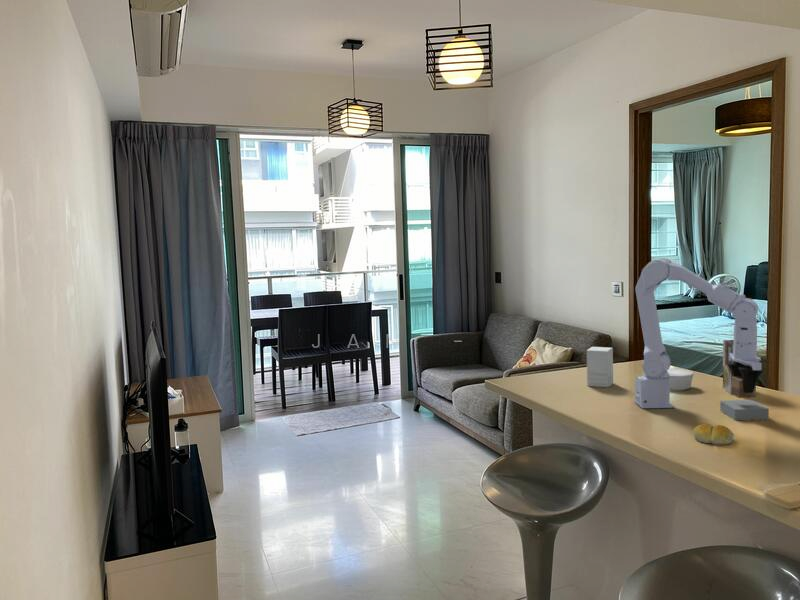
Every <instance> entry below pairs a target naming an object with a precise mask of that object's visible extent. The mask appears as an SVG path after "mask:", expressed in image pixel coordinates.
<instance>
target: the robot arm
mask: <svg viewBox="0 0 800 600" xmlns="http://www.w3.org/2000/svg"><path fill="white" fill-rule="evenodd" d="M666 280H667V281H680V282H682V283H685V284H686V285H688V286H690V287H692V288H694V289H696V290H697V291H700V292H702V293H703V294H705V295H706V297H707V301H708V302H710V303H712V304H714V306H716V307H719V308H721V309H722V310H723V311H726V312H727V313H731V314H732V316H733V318H734V325H733V340H734V347H733V353H729V360H733V361H734V362H733V363H728V366H729V368H730V370H731V372H732V375H733V377H738V376H742V380H743V389H744V392H745V393H753V391H754V388H755V385H756V386H757V381H758V380H759V377H760V375H761V374H763V372H764V371H763V367H762V365H763V364H762V362H760V361H762V359H761V357H758V355H757V353H758V352H757V350H758V349H757V348H758V326H757V323H758V321H757V315H758V313H759V306H758V303H756V301H754V300H753V299H752V298H748V297H746V295H745V294H743V293H742V294H740V293H738V292H736V291H734V290H733V289H731V288H730V285H728V284H727V283H725V284H724V285H723V284H721V283H717V284H713V283H711V282H709V281H707V280H706V279H704V278H703V277H701V276H700V275H698V274H696V273H695V272H693V271H692V270H689V269H688V268H687V267H684V266H682V265H681V264H680V263H677V262H674V261H671V260H670V259H668V258H665V257H664V258H658V259H654V260H651V261H649V262H648V263H647V264H646V265H645V266H644V267H643V268H642V270H641V273H640V276H639V278H638V280H637V283H636V285H635V289H634V290H635V296H636V302H637V308H638V312H639V319H640V324H641V331H642V337H643V343H644V350H643V363H642V371H643V375H642V376H637V377H636V378H635V381H634V382H635V383H634V403H635V404H637V405H638V406H639V407H640V408H641V409H675V407H676V406H675V405H674V404H672V403H671V402H670V395H671V394H670V391H671V390H670V375H669V373H668V371H667V370H668V369H671V365H672V360H671V358H670V355H668V353H667V350H666V349H667V348H666V347H665V344H663V338H662V331H661V327H660V326H661V325H660V321H659V315H658V309H657V303H656V295H655V291H656V290H657V288H658V287H659V286H660V285H661V284H662V283H663V282H665V281H666Z"/></svg>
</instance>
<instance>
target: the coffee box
mask: <svg viewBox="0 0 800 600" xmlns="http://www.w3.org/2000/svg"><path fill="white" fill-rule="evenodd" d="M722 343H723V344H722V389H724V390H725V391H726V392H728V393H729V394H730V395H733V394H732V377H733V375H732V372H731V370H730V368H729V366H728V363H733V362H734V361H733V360H729V353H733V347H734V339H728V340H727V339H725V340H722Z"/></svg>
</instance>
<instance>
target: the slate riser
mask: <svg viewBox="0 0 800 600" xmlns="http://www.w3.org/2000/svg"><path fill="white" fill-rule="evenodd" d="M719 403H720V404H719V407H720V408H719V409H720V412H721V411H722V412H721V413H723V414H724V413H725V414H724V415H726V416H727V415H728V416H727V417H729V416H730V417H729V418H730V419H732V418H733V419H732V420H734V421H752V420H751V419H756V420H757V419H761V420H764V419H766V420H769V419H770V418H769V416H770V415H769V413H770V411H769V410H770V409H769V408H768V407H767V406H764V405H763V404H761V403H759V402H757V401H755V400H753V399H744V400H741V399H740V400H734V399H733V400H720V401H719ZM756 420H755V421H756ZM757 421H758V420H757Z"/></svg>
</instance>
